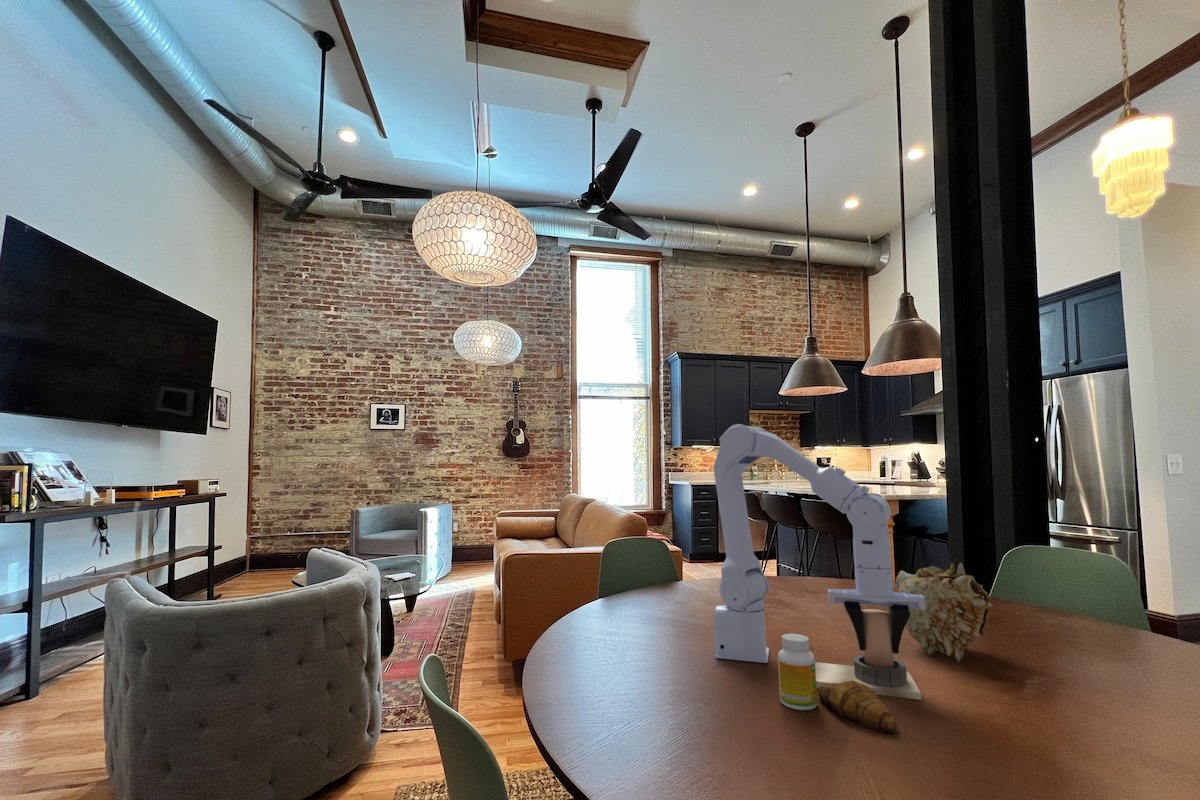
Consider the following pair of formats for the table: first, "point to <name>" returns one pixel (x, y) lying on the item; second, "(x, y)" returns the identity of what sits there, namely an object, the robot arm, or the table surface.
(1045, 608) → the table surface
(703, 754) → the table surface
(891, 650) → the peg
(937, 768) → the table surface
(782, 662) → the supplement bottle
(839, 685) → the croissant
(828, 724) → the table surface
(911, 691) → the holder board
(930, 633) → the seashell
